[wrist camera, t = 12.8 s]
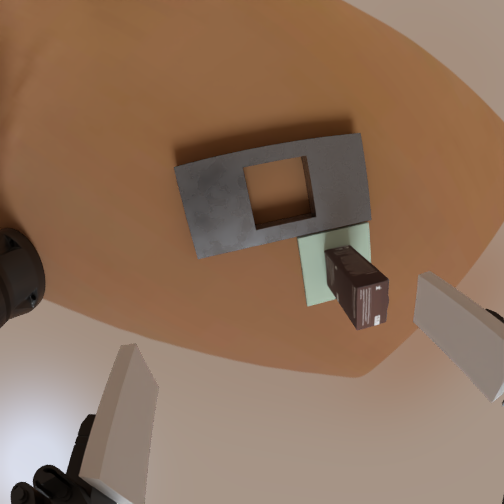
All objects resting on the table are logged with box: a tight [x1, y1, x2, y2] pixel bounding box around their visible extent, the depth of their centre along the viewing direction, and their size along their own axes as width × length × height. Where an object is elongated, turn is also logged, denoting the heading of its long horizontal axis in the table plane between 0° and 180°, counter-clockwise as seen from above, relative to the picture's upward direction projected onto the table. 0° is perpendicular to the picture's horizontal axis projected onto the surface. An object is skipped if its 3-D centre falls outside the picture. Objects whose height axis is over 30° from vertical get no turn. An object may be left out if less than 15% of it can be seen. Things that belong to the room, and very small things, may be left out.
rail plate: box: [174, 133, 371, 259], centre depth 35 cm, size 24×12×2 cm, turn 102°
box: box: [324, 245, 389, 330], centre depth 35 cm, size 6×4×12 cm
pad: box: [297, 222, 371, 306], centre depth 41 cm, size 11×11×1 cm
